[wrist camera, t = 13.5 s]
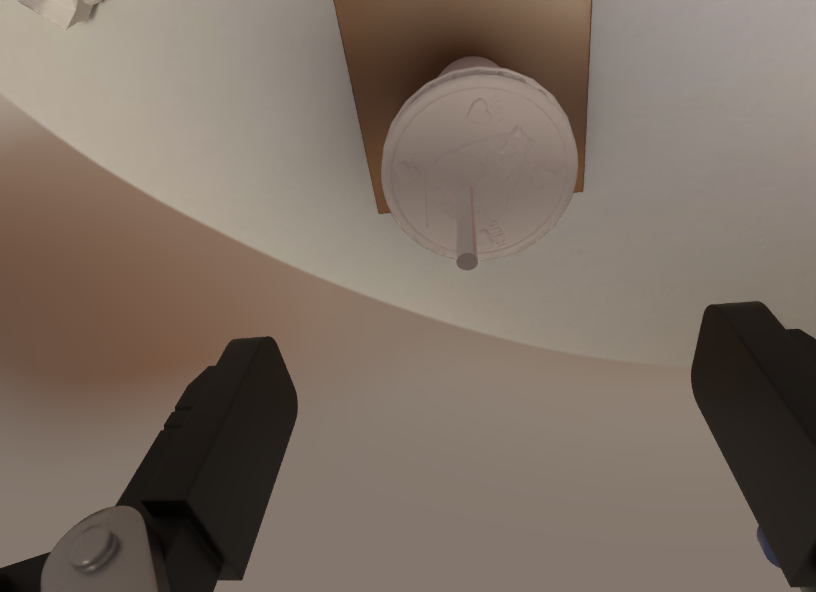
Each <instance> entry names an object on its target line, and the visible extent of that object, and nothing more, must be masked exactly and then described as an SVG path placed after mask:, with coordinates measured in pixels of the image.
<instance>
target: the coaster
mask: <svg viewBox="0 0 816 592" xmlns="http://www.w3.org/2000/svg"><path fill="white" fill-rule="evenodd" d="M333 1H334V5H335V10H336V15H337V20H338V24H339V29H340V34H341V38H342V43H343V48H344V53H345V57H346V62H347V67H348V72H349V76H350V81H351V86H352V91H353V95H354V100H355V105H356V109H357V114H358V119H359V124H360V128H361V133H362V138H363V143H364V147H365V152H366V157H367V162H368V166H369V171H370V176H371V180H372V185H373V190H374V195H375V199H376V204H377V209H378V213H379V214H383V213H391V211H390V209H389V207H388V205H387V202H386V199H385V196H384V192H383V188H382V181H381V165H382V158H383V147H384V144H385V141H386V138H387V135H388V132H389V129H390V126H391V123H392V121H393V120H394V118H395V117H396V115H397V114H398V112H399V111H400V109H401V108H402V106H403V105H404V103H405V102H406V101H407V100H408V99H409V98H410V97H411V96H412V95H413V94H415V93H416V92H417V91H418V90H419V89H420V88H421V87H423V86H424V85H425V84H426V83H428V82H430V81H432V80H434V79H436V78H437V77H438V76H439V75H440V74H441V72H442V71H443V70H444V69H445V68H446V67H447V66H448V65H449V64H451V63H452V62H454V61H456V60H458V59H461V58H464V57H470V56H477V57H483V58H486V59H488V60H491V61H492V62H494V63H495V64H497V65H498V66H499V67H500V68H507V69H510V70H512V71H515V72H517V73H520V74H522V75H524V76H527V77H529V78H532V79H534V80H535V81H536V82H537V83H538V84H540V85H541V86H542V87H543V88H545V89H546V90H547V91H548V92H550V93H551V94H552V95H553V96H554V97H555V99H556V100H557V102H558V103H559V105H560V106H561V108H562V109H563V111H564V112H565V114H566V115H567V117H568V120H569V123H570V126H571V130H572V133H573V136H574V139H575V143H576V147H577V155H578V172H577V179H576V184H575V188H574V191H573V193H576V192H583V188H584V167H585V145H586V123H587V102H588V80H589V59H590V37H591V15H592V0H333Z"/></svg>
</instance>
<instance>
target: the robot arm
mask: <svg viewBox="0 0 816 592" xmlns="http://www.w3.org/2000/svg"><path fill="white" fill-rule="evenodd" d="M691 383H692V389H693V393H694V397H695V400H696V402H697V404H698V407H699V408H700V410H701V413H702V414H703V416H704V418H705V420H706V422H707V424H708V426H709V428H710V430H711V432H712V434H713V436H714V438H715V440H716V442H717V444H718V446H719V448H720V450H721V452H722V454H723V456H724V458H725V460H726V461H727V463H728V465H729V467H730V469H731V471H732V473H733V475H734V477H735V479H736V481H737V483H738V485H739V487H740V489H741V491H742V493H743V495H744V497H745V499H746V501H747V503H748V504H749V506H750V508H751V510H752V512H753V514H754V516H755V518H756V520H757V522H758V524H759V526H760V528H761V530H762V532H763V534H764V536H765V538H766V540H767V542H768V544H769V546H770V548H771V550H772V552H773V554H774V556H775V557H776V559H777V561H778V563H779V565H780V567H781V569H782V571H783V573H784V575H785V577H786V579H787V581H788V583H789V585H790V587H800V589H801V591H802V592H816V339H815V338H813V337H812V336H810V335H808V334H807V333H805V332H803V331H802V330H800V329H785V328H784V327H783V326H782V324H781V323H780V322H779V321H778V320H777V318H776V317H775V316H774V315H773V314H772V312H771V311H770V310H769V309H768V308H767V307H766V306H765V305H764V304H763V303H762V302H759V301H753V302H740V303H726V304H713V305H709V306H708V307H707V308H706V309H705V311H704V314H703V318H702V323H701V327H700V332H699V337H698V341H697V346H696V350H695V355H694V360H693V364H692V369H691ZM297 402H298V401H297V394H296V390H295V387H294V385H293V382H292V380H291V377H290V375H289V373H288V370H287V368H286V365H285V363H284V360H283V358H282V356H281V353H280V350H279V348H278V345H277V343H276V341H275V340H274V339H273V338H272V337H269V336H267V337H254V338H241V339H233V340H231V341H230V342H229V344H228V345H227V347H226V349H225V351H224V352H223V354H222V356H221V357H220V359H219V361H218V363H217V365H216V366H208V367H207V369H205V370H204V371H203V372H202V373H201V374H200V375H199V376H198V377H197V378H196V379H194V380H193V381H192V382H191V383H190V384H189V385H188V386H187V388H186V390H185V391H184V393H183V395H182V396H181V398H180V400H179V401H178V403H177V405H176V406H175V412H172V413H171V415H170V416H169V418H168V419H167V421H166V423H165V424H164V430H162V431H160V433H159V435H158V436H157V438H156V439H155V441H154V443H153V444H152V446H151V448H150V449H149V451H148V453H147V454H146V456H145V458H144V459H143V461H142V463H141V464H140V466H139V468H138V469H137V471H136V473H135V474H134V476H133V478H132V479H131V481H130V483H129V484H128V486H127V488H126V489H125V491H124V492H123V494H122V496H121V498H120V499H119V501H118V502H117V504H116V505H115V506H114V507H109V508H106V509H103V510H100V511H98V512H96V513H94V514H91V515H90V516H88V517H87V518H85V519H83V520H82V521H80V522H79V523H78V524H77V525H75V526H74V527H73V528H71V530H69V531H68V532H67V533H66V534H65V535H64V536H63V537H62V538H61V539H60V540H59V542H58V543H57V544H56V546H55V547H54V548H53V550H52V551H51V552H49V553H46V554H43V555H40V556H37V557H34V558H30V559H27V560H24V561H21V562H18V563H15V564H12V565H9V566H6V567H3V568H0V592H213V591H214V588H215V586H216V583H217V580H242V579H243V576H244V573H245V570H246V567H247V564H248V561H249V558H250V555H251V552H252V549H253V546H254V543H255V540H256V537H257V534H258V532H259V528H260V525H261V523H262V519H263V516H264V514H265V511H266V508H267V505H268V502H269V499H270V496H271V493H272V489H273V487H274V483H275V481H276V478H277V475H278V472H279V469H280V466H281V463H282V460H283V457H284V454H285V451H286V448H287V445H288V442H289V439H290V436H291V433H292V430H293V427H294V425H295V421H296V417H297V410H298V403H297Z"/></svg>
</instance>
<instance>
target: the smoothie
mask: <svg viewBox="0 0 816 592" xmlns="http://www.w3.org/2000/svg"><path fill="white" fill-rule="evenodd" d="M577 172H578V155H577V147H576V143H575V139H574V136H573V133H572V130H571V126H570V123H569V120H568V117H567V115H566V114H565V112H564V111H563V109H562V108H561V106H560V105H559V103H558V102H557V100H556V99H555V97H554V96H553V95H552V94H551V93H550V92H548V91H547V90H546V89H545V88H543V87H542V86H541V85H540V84H538V83H537V82H536V81H535V80H534V79H532V78H529V77H527V76H524V75H522V74H520V73H517V72H515V71H512V70H510V69H507V68H500V67H499V66H498V65H497V64H495V63H494V62H492V61H491V60H488V59H486V58H483V57H477V56H470V57H464V58H461V59H458V60H456V61H454V62H452V63H451V64H449V65H448V66H447V67H446V68H445V69H444V70H443V71H442V72H441V74H440V75H439V76H438V77H437V78H436V79H434V80H432V81H430V82H428V83H426V84H425V85H424V86H423V87H421V88H420V89H419V90H418V91H417V92H416V93H415V94H413V95H412V96H411V97H410V98H409V99H408V100H407V101H406V102H405V103H404V105H403V106H402V108H401V109H400V111H399V112H398V114H397V115H396V117H395V118H394V120H393V121H392V123H391V126H390V129H389V132H388V135H387V138H386V141H385V144H384V147H383V158H382V165H381V181H382V188H383V192H384V196H385V199H386V202H387V205H388V207H389V209H390V211H391V214H392V215H393V217H394V218H395V220H396V222H397V223H398V224H399V226H400V227H401V228H402V229H403V230H404V231H405V232H406V234H408V235H409V236H410V237H411V238H412V239H413V240H414V241H416V242H417V243H418V244H420V245H421V246H423V247H425V248H426V249H428V250H430V251H432V252H434V253H437V254H439V255H442V256H445V257H449V258H453V259H456V262H457V265H458V267H459V268H460V269H462V270H466V271H468V270H472V269H474V268H475V267H476V266H477V264H478V261H483V260H491V259H496V258H501V257H504V256H508V255H511V254H513V253H516V252H518V251H520V250H522V249H524V248H526V247H528V246H530V245H531V244H533V243H534V242H536V241H537V240H538V239H540V238H541V237H542V236H543V235H545V234H546V233H547V232H548V231H549V230H550V229H551V228H552V227H553V226H554V225H555V223H556V222H557V221H558V220H559V218H560V217H561V215H562V214H563V212H564V211H565V209H566V207H567V205H568V204H569V201H570V199H571V197H572V194H573V191H574V188H575V184H576V179H577Z"/></svg>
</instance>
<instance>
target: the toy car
mask: <svg viewBox="0 0 816 592" xmlns="http://www.w3.org/2000/svg"><path fill="white" fill-rule="evenodd" d="M17 1H19V2H20V3H22V4H24V5H25V6H27V7H29V8H30V9H32V10H34V11H35V12H37V13H39V14H40V15H42V16H44V17H45V18H47V19H48V20H50V21H52V22H53V23H55V24H57V25H58V26H60V27H62V28H63V29H65V30H67V29H68V28H69V27H71V26H72V25H74V24H75V23H77V22H80V21H85V20H88V18H89V15H90V13H91V10H92V7H93V5H95V4H97V3H99V2H100V1H101V0H17Z"/></svg>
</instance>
